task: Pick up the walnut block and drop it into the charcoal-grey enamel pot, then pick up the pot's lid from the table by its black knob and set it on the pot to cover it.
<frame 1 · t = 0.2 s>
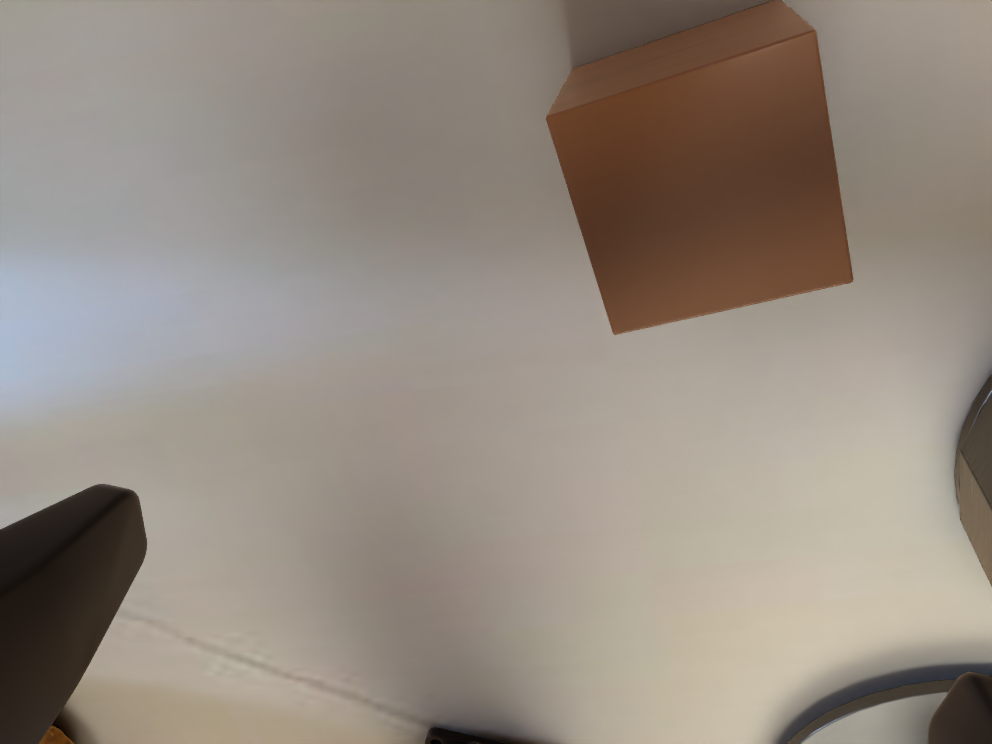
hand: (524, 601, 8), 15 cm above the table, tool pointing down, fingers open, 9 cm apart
bread roll: (27, 727, 42), on the table
block: (694, 136, 20), on the table
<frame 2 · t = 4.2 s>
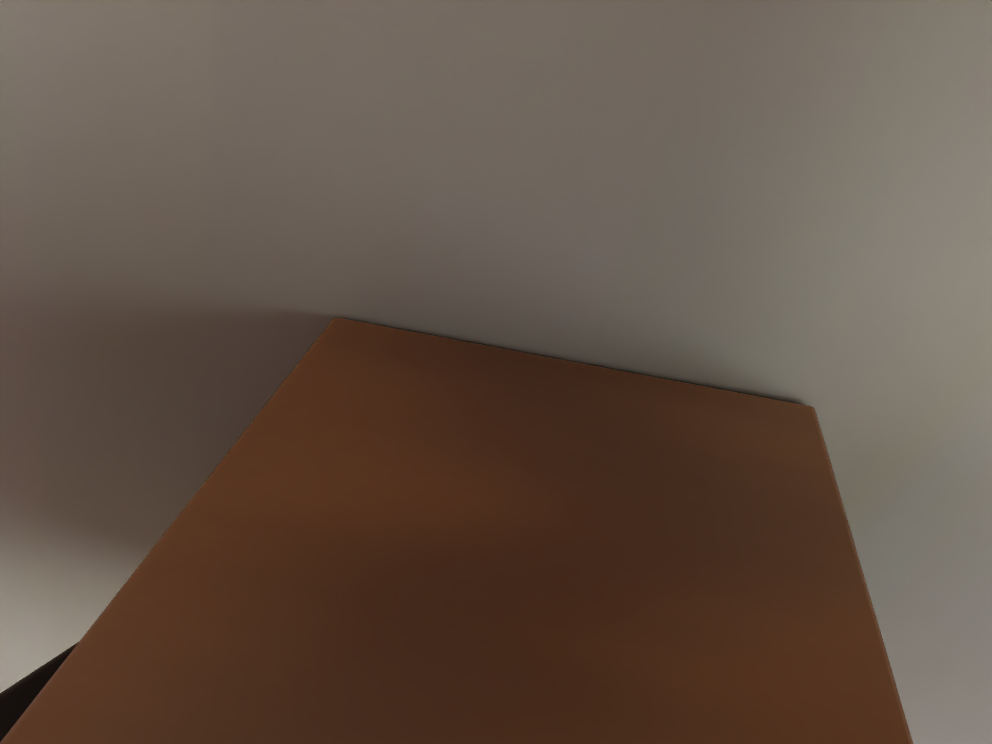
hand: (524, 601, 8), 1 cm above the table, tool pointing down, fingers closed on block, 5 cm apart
block: (534, 535, 9), on the table, touching gripper
when the fingers open (5 cm above the table, at t = 9.1 s): block drops 4 cm, resting on pot.
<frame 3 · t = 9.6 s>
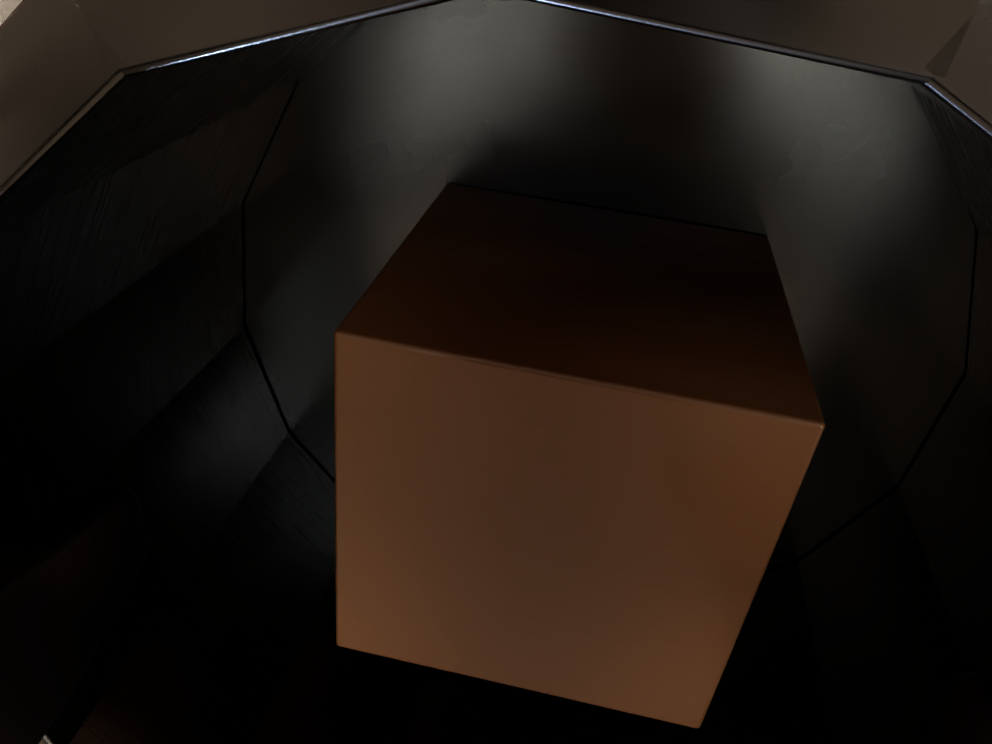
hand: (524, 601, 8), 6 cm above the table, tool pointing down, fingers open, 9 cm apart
pot: (579, 333, 14), on the table
block: (578, 347, 13), point 1 cm above the table, touching pot
when the fingers open (8 cm above the table, at t = 18.1 s): lid stays where it is, resting on pot.
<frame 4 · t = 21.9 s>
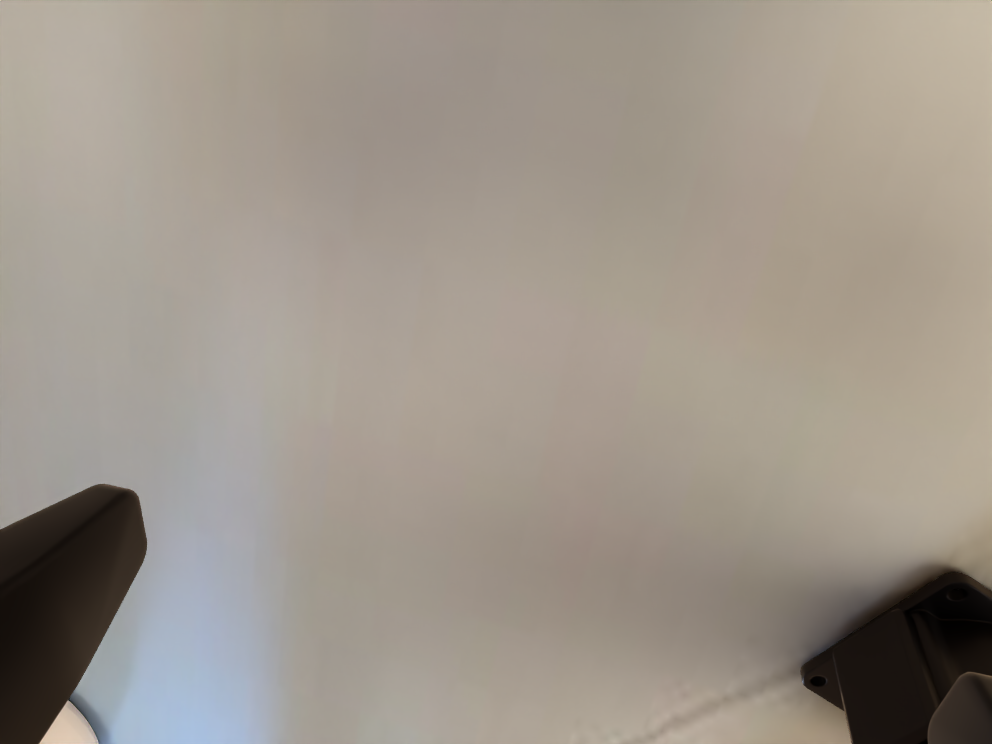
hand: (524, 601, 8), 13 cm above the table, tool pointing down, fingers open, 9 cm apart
coffeepot: (10, 716, 38), on the table
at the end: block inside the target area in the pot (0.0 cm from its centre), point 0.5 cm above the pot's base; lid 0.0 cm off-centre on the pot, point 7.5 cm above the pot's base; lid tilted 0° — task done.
